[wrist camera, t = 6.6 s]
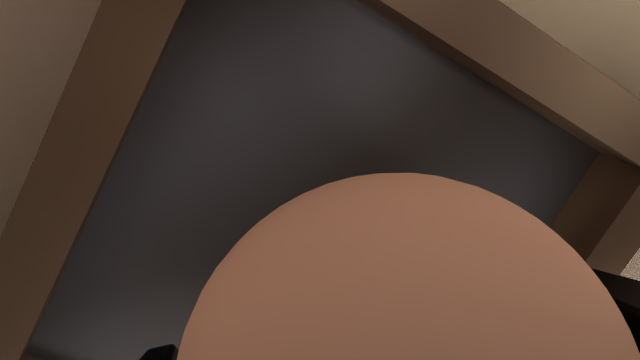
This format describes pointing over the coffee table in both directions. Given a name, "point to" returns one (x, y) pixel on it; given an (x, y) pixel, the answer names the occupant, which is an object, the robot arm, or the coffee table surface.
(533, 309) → the ball
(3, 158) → the coffee table surface
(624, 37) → the coffee table surface
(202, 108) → the walnut tray
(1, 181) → the coffee table surface
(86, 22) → the coffee table surface
